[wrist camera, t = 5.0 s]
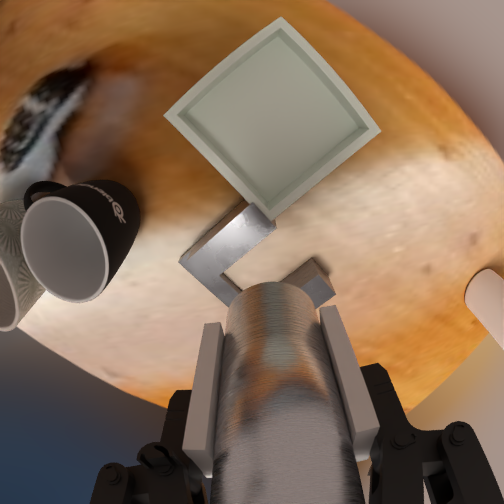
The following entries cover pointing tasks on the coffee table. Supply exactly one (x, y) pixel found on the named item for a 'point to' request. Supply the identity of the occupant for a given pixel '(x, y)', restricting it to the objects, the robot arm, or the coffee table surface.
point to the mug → (78, 236)
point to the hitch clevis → (238, 244)
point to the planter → (14, 268)
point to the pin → (280, 407)
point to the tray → (273, 118)
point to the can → (488, 302)
